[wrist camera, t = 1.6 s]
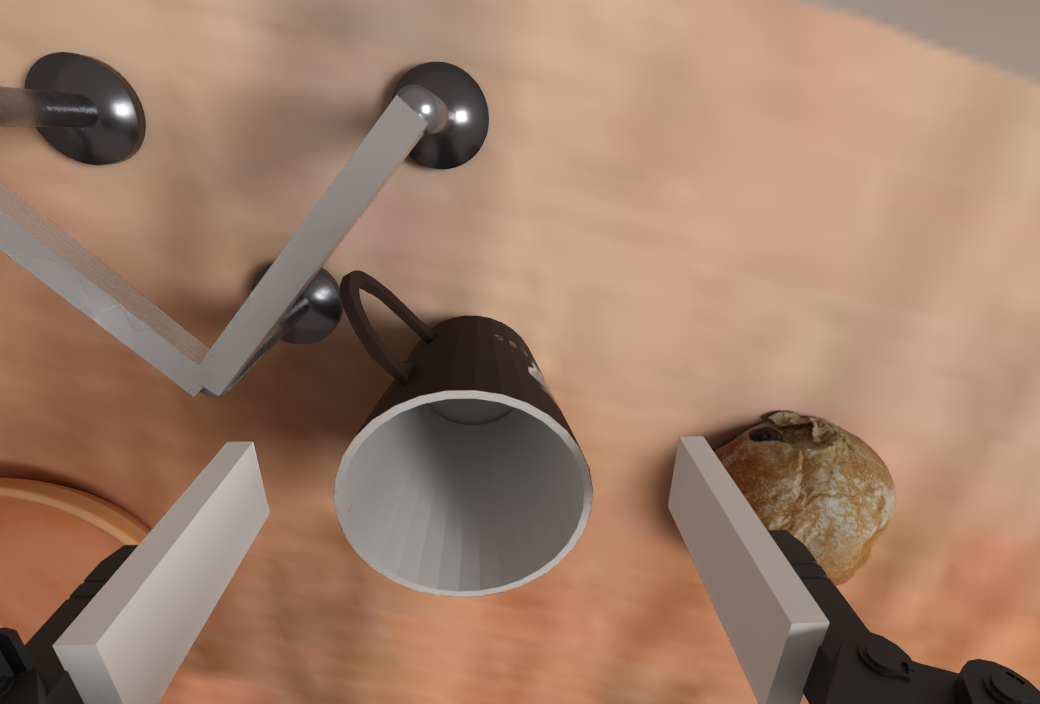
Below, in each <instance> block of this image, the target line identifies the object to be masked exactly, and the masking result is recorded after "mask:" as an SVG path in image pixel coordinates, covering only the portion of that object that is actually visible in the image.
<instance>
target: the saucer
mask: <svg viewBox="0 0 1040 704" xmlns="http://www.w3.org/2000/svg"><path fill="white" fill-rule="evenodd" d="M150 531H151V529H150V528H149V527H147V526H146V525H145V524H144V523H143V522H142V521H140V520H139V519H137V518H136V517H135V516H133V515H132V514H130V513H129V512H127V511H126V510H124V509H122V508H121V507H119V506H117V505H115V504H113V503H111V502H109V501H107V500H105V499H102V498H100V497H97V496H95V495H92V494H90V493H87V492H84V491H81V490H77V489H73V488H70V487H65V486H61V485H57V484H53V483H48V482H42V481H36V480H28V479H15V478H2V477H0V628H3V627H7V628H11V629H14V630H17V632H18V634H19V636H20V638H21V640H22V641H23V643H24V645H25V644H26V643H27V642H28V641H29V640H30V639H31V638H32V636H33V635H34V634H35V633H36V632H37V631H38V630H39V629H40V628H41V627H42V626H43V624H44V623H45V622H46V621H47V620H48V619H49V618H50V617H51V616H52V615H53V613H54V612H55V611H56V610H57V609H58V608H59V607H60V606H61V605H62V604H63V603H64V601H65V600H69V598H70V595H71V594H72V593H73V592H74V590H75V589H76V588H77V587H78V586H79V585H80V584H83V583H84V580H85V578H86V577H87V576H88V575H89V574H90V573H91V572H92V571H93V570H94V569H95V567H96V566H97V565H98V564H99V563H100V562H101V561H102V560H104V559H105V558H107V557H108V556H109V555H111V554H112V553H114V552H115V551H117V550H118V549H120V548H121V547H122V546H124V545H139V544H140V543H141V542H142V541H143V539H144V538H145V537H146V536H147V535H148V534H149V532H150Z"/></svg>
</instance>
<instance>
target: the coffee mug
mask: <svg viewBox="0 0 1040 704" xmlns="http://www.w3.org/2000/svg"><path fill="white" fill-rule="evenodd" d="M359 288H360V289H363V290H365V291H366V292H368V293H370V294H372V295H374V296H375V297H377V298H379V299H380V300H381V301H382V302H383V303H384V304H385V305H387V306H388V307H389V308H390V309H391V310H392V311H393V312H394V313H395V314H396V315H397V316H399V317H400V318H401V319H402V320H403V321H404V322H405V323H406V324H407V325H408V326H409V327H410V328H411V329H412V330H413V331H414V332H415V333H417V334H418V335H419V336H420V337H421V338H422V339H421V341H420V342H419V344H418V345H417V347H416V348H415V350H414V351H413V353H412V354H411V355H410V357H409V358H408V360H407V361H406V362H403V361H400V360H399V359H398V358H396V357H395V356H394V355H393V354H392V353H391V352H390V351H389V349H388V348H387V347H386V346H385V345H384V343H383V342H382V341H381V340H380V338H379V337H378V336H377V334H376V333H375V331H374V330H373V328H372V326H371V325H370V323H369V320H368V318H367V316H366V314H365V311H364V309H363V306H362V303H361V300H360V295H359ZM340 297H341V301H342V304H343V307H344V309H345V312H346V314H347V317H348V319H349V321H350V323H351V325H352V327H353V329H354V331H355V332H356V334H357V336H358V338H359V339H360V341H361V343H362V344H363V346H364V347H365V349H366V350H367V352H368V353H369V355H370V356H371V357H372V358H373V359H374V360H375V361H376V362H378V363H379V364H380V365H381V366H382V367H383V368H384V369H385V370H386V371H387V372H388V373H390V374H391V375H392V376H393V377H395V379H394V380H393V382H392V383H391V385H390V386H389V388H388V389H387V391H386V392H385V394H384V395H383V396H382V398H381V399H380V401H379V402H378V404H377V405H376V407H375V408H374V410H373V411H372V413H371V414H370V415H369V417H368V418H367V420H366V421H365V423H364V424H363V426H362V427H361V429H360V430H359V432H358V433H357V435H356V436H355V437H354V439H353V441H352V442H351V444H350V445H349V447H348V448H347V450H346V451H345V453H344V455H343V456H342V459H341V462H340V465H339V468H338V470H337V473H336V476H335V486H334V504H335V509H336V515H337V519H338V522H339V524H340V526H341V529H342V531H343V533H344V536H345V538H346V539H347V540H348V542H349V543H350V545H351V546H352V547H353V549H354V550H355V551H356V553H357V554H358V555H359V556H360V557H361V558H362V559H363V560H364V561H365V562H366V563H368V564H369V565H370V566H371V567H372V568H373V569H374V570H376V571H377V572H379V573H381V574H382V575H384V576H385V577H387V578H389V579H390V580H392V581H394V582H396V583H399V584H401V585H403V586H406V587H408V588H411V589H413V590H417V591H421V592H425V593H429V594H433V595H440V596H450V597H475V596H485V595H490V594H496V593H501V592H505V591H508V590H511V589H514V588H516V587H519V586H522V585H525V584H527V583H529V582H531V581H532V580H534V579H536V578H538V577H540V576H542V575H544V574H545V573H546V572H548V571H549V570H550V569H552V568H553V567H554V566H555V565H557V564H558V563H559V562H561V561H562V560H563V558H564V557H565V556H566V555H567V554H568V553H569V552H570V551H571V550H572V548H573V547H574V546H575V545H576V543H577V541H578V540H579V538H580V536H581V534H582V533H583V531H584V529H585V527H586V524H587V521H588V518H589V515H590V512H591V506H592V494H593V487H592V481H591V475H590V469H589V467H588V465H587V462H586V460H585V458H584V455H583V453H582V451H581V449H580V447H579V445H578V443H577V441H576V439H575V437H574V435H573V433H572V431H571V429H570V427H569V425H568V423H567V422H566V420H565V418H564V416H563V414H562V412H561V410H560V408H559V406H558V404H557V402H556V400H555V398H554V396H553V394H552V393H551V391H550V389H549V387H548V385H547V383H546V381H545V379H544V377H543V375H542V373H541V371H540V369H539V367H538V366H537V364H536V362H535V360H534V358H533V356H532V354H531V352H530V350H529V348H528V346H527V345H526V344H525V342H524V341H523V339H522V338H521V337H520V336H519V335H518V334H517V333H516V332H515V331H514V330H513V329H511V328H510V327H508V326H507V325H505V324H503V323H502V322H499V321H496V320H494V319H491V318H486V317H481V316H463V317H458V318H453V319H450V320H448V321H445V322H443V323H440V324H439V325H437V326H436V327H434V328H433V329H431V330H430V329H428V328H427V326H426V325H424V324H423V323H422V322H421V321H420V320H419V319H418V318H417V317H416V316H415V315H414V314H413V313H412V312H411V311H410V310H409V309H408V308H407V307H406V306H405V305H404V304H403V303H402V302H401V301H400V300H399V299H398V298H397V297H396V296H395V295H394V294H393V293H392V292H391V291H390V290H388V289H387V288H386V287H385V286H383V285H382V284H381V283H379V282H378V281H377V280H376V279H374V278H373V277H371V276H369V275H368V274H366V273H364V272H362V271H353V272H351V273H349V274H347V275H345V276H344V277H343V278H342V281H341V285H340Z"/></svg>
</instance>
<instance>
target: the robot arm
mask: <svg viewBox="0 0 1040 704" xmlns="http://www.w3.org/2000/svg"><path fill="white" fill-rule="evenodd" d="M668 508H669V510H670V512H671V514H672V516H673V519H674V521H675V523H676V525H677V527H678V529H679V532H680V534H681V536H682V538H683V540H684V542H685V545H686V547H687V549H688V551H689V553H690V556H691V558H692V560H693V562H694V564H695V566H696V569H697V571H698V573H699V575H700V577H701V579H702V582H703V584H704V586H705V588H706V590H707V593H708V595H709V597H710V599H711V601H712V603H713V606H714V608H715V610H716V612H717V614H718V616H719V619H720V621H721V623H722V625H723V627H724V629H725V632H726V634H727V636H728V638H729V640H730V643H731V645H732V647H733V649H734V651H735V653H736V656H737V658H738V660H739V662H740V664H741V666H742V669H743V671H744V673H745V675H746V677H747V680H748V682H749V684H750V686H751V688H752V690H753V693H754V695H755V697H756V699H757V701H758V703H759V704H800V702H801V699H802V697H803V694H804V695H805V697H806V698H807V700H808V702H809V704H1040V691H1039V690H1038V689H1037V688H1036V687H1035V686H1033V685H1032V684H1031V683H1030V682H1029V681H1028V680H1027V679H1025V678H1023V677H1022V676H1020V675H1019V674H1017V673H1016V672H1014V671H1013V670H1011V669H1009V668H1007V667H1004V666H1002V665H1000V664H997V663H995V662H992V661H987V660H981V659H976V660H971V661H968V662H967V663H966V664H965V665H964V666H963V668H962V670H961V671H960V673H955V672H951V671H947V670H943V669H939V668H935V667H931V666H927V665H923V664H920V663H917V662H914V661H912V660H911V658H910V657H909V656H908V655H907V654H906V653H905V652H904V651H903V650H902V649H901V648H900V647H898V646H897V645H896V644H894V643H893V642H891V641H889V640H888V639H886V638H884V637H883V636H880V635H877V634H874V633H871V632H870V631H869V630H868V629H867V628H866V626H865V625H864V624H863V622H862V621H861V620H860V618H859V617H858V616H857V614H856V613H855V612H854V610H853V609H852V608H851V606H850V605H849V604H848V602H847V601H846V600H845V598H844V597H843V596H842V594H841V593H840V592H839V590H838V589H837V588H836V586H835V585H834V583H833V582H832V581H831V579H828V578H827V574H826V573H825V571H824V570H823V569H822V567H821V566H820V565H818V564H817V561H816V559H815V558H814V557H813V555H812V554H811V553H810V551H809V550H808V549H807V547H806V546H805V545H804V544H803V543H802V542H801V541H799V540H798V539H797V538H795V537H794V536H793V535H792V534H790V533H789V532H788V531H786V530H767V529H766V528H765V527H764V525H763V524H762V522H761V521H760V519H759V518H758V516H757V515H756V513H755V512H754V510H753V509H752V507H751V506H750V504H749V503H748V502H747V500H746V499H745V497H744V496H743V494H742V493H741V491H740V490H739V488H738V487H737V485H736V484H735V482H734V481H733V479H732V478H731V476H730V475H729V474H728V472H727V471H726V469H725V468H724V466H723V465H722V463H721V462H720V460H719V459H718V457H717V456H716V454H715V453H714V451H713V450H712V449H711V447H710V446H709V444H708V443H707V441H706V440H705V438H704V437H703V436H683V437H679V441H678V447H677V453H676V459H675V465H674V472H673V478H672V484H671V490H670V496H669V502H668ZM269 514H270V513H269V508H268V504H267V500H266V495H265V491H264V486H263V482H262V478H261V473H260V469H259V465H258V460H257V456H256V452H255V447H254V443H253V442H227V443H226V444H225V445H224V446H223V447H222V449H221V450H220V451H219V452H218V453H217V454H216V456H215V457H214V458H213V459H212V460H211V461H210V463H209V464H208V465H207V466H206V467H205V468H204V470H203V471H202V472H201V473H200V474H199V475H198V477H197V478H196V479H195V480H194V481H193V482H192V484H191V485H190V486H189V487H188V488H187V489H186V491H185V492H184V493H183V494H182V495H181V496H180V498H179V499H178V500H177V501H176V502H175V503H174V505H173V506H172V507H171V508H170V509H169V510H168V512H167V513H166V514H165V515H164V516H163V517H162V519H161V520H160V521H159V522H158V523H157V524H156V526H155V527H154V528H153V529H152V530H151V531H150V532H149V534H148V535H147V536H146V537H145V538H144V539H143V541H142V542H141V543H140V544H139V545H124V546H122V547H121V548H120V549H118V550H117V551H115V552H114V553H112V554H111V555H109V556H108V557H107V558H105V559H104V560H102V561H101V562H100V563H99V564H98V565H97V566H96V567H95V569H94V570H93V571H92V572H91V573H90V574H89V575H88V576H87V577H86V578H85V580H84V583H83V584H80V585H79V586H78V587H77V588H76V589H75V590H74V592H73V593H72V594H71V595H70V598H69V600H65V601H64V603H63V604H62V605H61V606H60V607H59V608H58V609H57V610H56V611H55V612H54V613H53V615H52V616H51V617H50V618H49V619H48V620H47V621H46V622H45V623H44V624H43V626H42V627H41V628H40V629H39V630H38V631H37V632H36V633H35V634H34V635H33V636H32V638H31V639H30V640H29V641H28V642H27V643H26V644H25V645H24V643H23V641H22V640H21V638H20V636H19V634H18V632H17V630H14V629H11V628H7V627H3V628H0V704H158V703H159V701H160V699H161V698H162V696H163V694H164V692H165V691H166V689H167V687H168V686H169V684H170V682H171V681H172V679H173V677H174V675H175V674H176V672H177V670H178V669H179V667H180V665H181V664H182V662H183V660H184V658H185V657H186V655H187V653H188V652H189V650H190V648H191V646H192V645H193V643H194V641H195V640H196V638H197V636H198V635H199V633H200V631H201V629H202V628H203V626H204V624H205V623H206V621H207V619H208V618H209V616H210V614H211V612H212V611H213V609H214V607H215V606H216V604H217V602H218V601H219V599H220V597H221V595H222V594H223V592H224V590H225V589H226V587H227V585H228V583H229V582H230V580H231V578H232V577H233V575H234V573H235V572H236V570H237V568H238V566H239V565H240V563H241V561H242V560H243V558H244V556H245V555H246V553H247V551H248V549H249V548H250V546H251V544H252V543H253V541H254V539H255V538H256V536H257V534H258V532H259V531H260V529H261V527H262V526H263V524H264V522H265V520H266V519H267V517H268V515H269Z"/></svg>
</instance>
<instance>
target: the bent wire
mask: <svg viewBox="0 0 1040 704" xmlns="http://www.w3.org/2000/svg"><path fill="white" fill-rule="evenodd" d="M488 124H489V114H488V107H487V103H486V100H485V97H484V95H483V92H482V90H481V89H480V87H479V85H478V84H477V83H476V81H475V80H474V79H473V78H472V77H471V76H470V75H469V74H468V73H466V72H465V71H464V70H462V69H461V68H459V67H457V66H455V65H452V64H449V63H445V62H429V63H424V64H421V65H419V66H417V67H415V68H413V69H412V70H410V71H409V72H408V73H407V74H406V75H405V76H404V77H403V78H402V79H401V80H400V82H399V83H398V85H397V87H396V89H395V91H394V94H393V97H392V101H391V103H390V105H389V106H388V107H387V109H386V110H385V111H384V113H383V114H382V115H381V117H380V118H379V120H378V121H377V122H376V124H375V125H374V126H373V128H372V129H371V130H370V132H369V133H368V135H367V136H366V137H365V139H364V140H363V141H362V143H361V144H360V145H359V147H358V148H357V150H356V151H355V152H354V154H353V155H352V156H351V158H350V159H349V160H348V162H347V163H346V165H345V166H344V167H343V169H342V170H341V171H340V173H339V174H338V175H337V177H336V178H335V180H334V181H333V182H332V184H331V185H330V186H329V188H328V189H327V190H326V192H325V193H324V195H323V196H322V197H321V199H320V200H319V201H318V203H317V204H316V205H315V207H314V208H313V210H312V211H311V212H310V214H309V215H308V216H307V218H306V219H305V220H304V222H303V223H302V225H301V226H300V227H299V229H298V230H297V231H296V233H295V234H294V235H293V237H292V238H291V240H290V241H289V242H288V244H287V245H286V246H285V248H284V249H283V250H282V252H281V253H280V255H279V256H278V257H277V259H276V260H275V261H274V263H273V264H272V265H271V266H269V267H267V268H266V269H265V270H263V271H262V272H261V273H260V274H259V275H258V277H257V278H256V280H255V282H254V284H253V287H252V291H251V294H250V295H249V297H248V298H247V300H246V301H245V302H244V304H243V305H242V306H241V308H240V309H239V311H238V312H237V313H236V315H235V316H234V317H233V319H232V320H231V321H230V323H229V324H228V326H227V327H226V328H225V330H224V331H223V332H222V334H221V335H220V336H219V338H218V339H217V341H216V342H215V343H214V345H213V346H212V347H211V349H209V348H208V347H207V346H205V345H204V344H203V343H202V342H200V341H199V340H198V339H197V338H195V337H194V336H193V335H192V334H190V333H189V332H188V331H187V330H185V329H184V328H183V327H182V326H180V325H179V324H178V323H177V322H175V321H174V320H173V319H172V318H171V317H169V316H168V315H167V314H166V313H164V312H163V311H162V310H161V309H159V308H158V307H157V306H156V305H154V304H153V303H152V302H151V301H149V300H148V299H147V298H146V297H144V296H143V295H142V294H141V293H139V292H138V291H137V290H136V289H135V288H133V287H132V286H131V285H130V284H128V283H127V282H126V281H125V280H123V279H122V278H121V277H120V276H118V275H117V274H116V273H115V272H113V271H112V270H111V269H110V268H108V267H107V266H106V265H105V264H103V263H102V262H101V261H100V260H99V259H97V258H96V257H95V256H94V255H92V254H91V253H90V252H89V251H87V250H86V249H85V248H84V247H82V246H81V245H80V244H79V243H77V242H76V241H75V240H74V239H72V238H71V237H70V236H69V235H67V234H66V233H65V232H64V231H63V230H61V229H60V228H59V227H58V226H56V225H55V224H54V223H53V222H51V221H50V220H49V219H48V218H46V217H45V216H44V215H43V214H41V213H40V212H39V211H38V210H36V209H35V208H34V207H33V206H31V205H30V204H29V203H28V202H27V201H25V200H24V199H23V198H22V197H20V196H19V195H18V194H17V193H15V192H14V191H13V190H12V189H10V188H9V187H8V186H7V185H5V184H4V183H3V182H2V181H0V250H1V251H2V252H3V253H5V254H6V255H7V256H9V257H10V258H11V259H13V260H14V261H15V262H16V263H18V264H19V265H20V266H22V267H23V268H24V269H26V270H27V271H28V272H30V273H31V274H32V275H34V276H35V277H36V278H38V279H39V280H40V281H42V282H43V283H44V284H45V285H47V286H48V287H49V288H51V289H52V290H53V291H55V292H56V293H57V294H59V295H60V296H61V297H63V298H64V299H65V300H67V301H68V302H69V303H71V304H72V305H73V306H74V307H76V308H77V309H78V310H80V311H81V312H82V313H84V314H85V315H86V316H88V317H89V318H90V319H92V320H93V321H94V322H96V323H97V324H98V325H100V326H101V327H102V328H103V329H105V330H106V331H107V332H109V333H110V334H111V335H113V336H114V337H115V338H117V339H118V340H119V341H121V342H122V343H123V344H125V345H126V346H127V347H129V348H130V349H131V350H132V351H134V352H135V353H136V354H138V355H139V356H140V357H142V358H143V359H144V360H146V361H147V362H148V363H150V364H151V365H152V366H154V367H155V368H156V369H158V370H159V371H160V372H161V373H163V374H164V375H165V376H167V377H168V378H169V379H171V380H172V381H173V382H175V383H176V384H177V385H179V386H180V387H181V388H183V389H184V390H185V391H187V392H188V393H189V394H190V395H192V396H193V397H194V396H195V395H196V394H197V393H198V392H199V391H200V392H201V393H203V394H205V395H207V396H211V397H220V396H223V395H225V394H227V393H228V392H229V391H230V390H231V389H232V388H233V387H234V386H235V385H236V384H237V383H238V382H239V381H240V380H241V379H242V378H243V377H244V376H245V375H246V374H247V373H248V372H249V371H250V370H251V369H252V368H253V367H254V366H255V365H256V364H257V363H258V362H259V361H260V360H261V359H262V357H263V356H264V355H265V354H266V353H267V352H268V351H269V350H270V349H271V348H272V347H273V346H274V345H275V344H276V343H277V342H278V341H279V340H280V339H281V340H284V341H286V342H290V343H295V344H310V343H314V342H317V341H320V340H322V339H324V338H325V337H327V336H328V335H329V334H330V333H331V332H332V331H333V330H334V328H335V327H336V326H337V325H338V323H339V321H340V319H341V317H342V314H343V304H342V301H341V297H340V288H339V286H338V284H337V282H336V281H335V279H334V278H333V277H332V276H331V275H330V274H329V273H328V272H327V271H326V270H325V269H323V268H322V266H323V265H324V263H325V262H326V261H327V260H328V258H329V257H330V256H331V254H332V253H333V252H334V250H335V249H336V248H337V247H338V245H339V244H340V243H341V241H342V240H343V239H344V237H345V236H346V235H347V233H348V232H349V231H350V230H351V228H352V227H353V226H354V224H355V223H356V222H357V220H358V219H359V218H360V217H361V215H362V214H363V213H364V211H365V210H366V209H367V207H368V206H369V205H370V204H371V202H372V201H373V200H374V198H375V197H376V196H377V194H378V193H379V192H380V191H381V189H382V188H383V187H384V185H385V184H386V183H387V181H388V180H389V179H390V178H391V176H392V175H393V174H394V172H395V171H396V170H397V168H398V167H399V166H400V165H401V163H402V162H403V161H404V159H405V158H406V157H407V155H409V156H410V157H412V158H413V159H414V160H416V161H417V162H419V163H421V164H423V165H425V166H428V167H431V168H435V169H450V168H455V167H458V166H460V165H462V164H464V163H466V162H467V161H469V160H470V159H471V158H472V157H474V156H475V155H476V153H477V152H478V151H479V150H480V148H481V146H482V145H483V143H484V140H485V138H486V135H487V131H488ZM0 126H5V127H36V128H37V129H38V131H39V132H40V133H41V134H42V136H43V137H44V138H45V139H46V140H47V141H48V142H49V143H50V144H51V145H52V146H53V147H54V148H56V149H57V150H58V151H60V152H61V153H62V154H64V155H66V156H68V157H69V158H72V159H74V160H76V161H79V162H82V163H86V164H93V165H104V164H115V163H120V162H122V161H125V160H127V159H129V158H131V157H132V156H133V155H134V154H135V153H136V152H137V151H138V150H139V148H140V146H141V145H142V142H143V140H144V136H145V129H146V123H145V115H144V111H143V108H142V105H141V102H140V100H139V98H138V96H137V94H136V93H135V91H134V90H133V88H132V87H131V85H130V84H129V83H128V82H127V80H126V79H125V78H124V77H123V76H122V75H121V74H120V73H119V72H117V71H116V70H115V69H113V68H112V67H111V66H109V65H107V64H106V63H104V62H102V61H100V60H98V59H95V58H92V57H89V56H85V55H80V54H74V53H67V52H59V53H53V54H49V55H46V56H44V57H42V58H41V59H39V60H38V61H37V62H36V63H35V64H34V65H33V66H32V67H31V69H30V71H29V73H28V75H27V78H26V81H25V89H21V88H10V87H0Z"/></svg>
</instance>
